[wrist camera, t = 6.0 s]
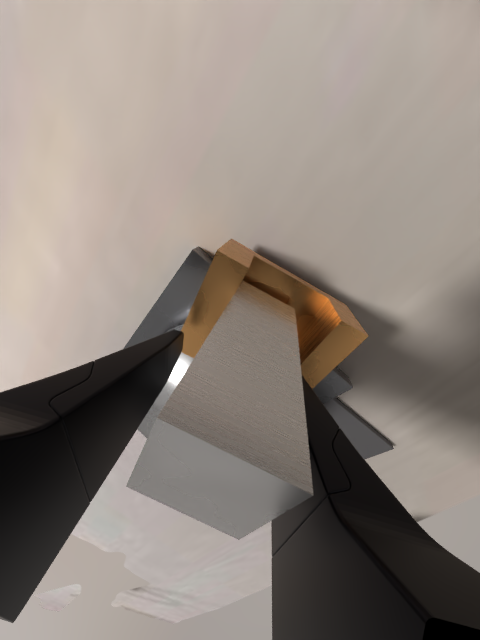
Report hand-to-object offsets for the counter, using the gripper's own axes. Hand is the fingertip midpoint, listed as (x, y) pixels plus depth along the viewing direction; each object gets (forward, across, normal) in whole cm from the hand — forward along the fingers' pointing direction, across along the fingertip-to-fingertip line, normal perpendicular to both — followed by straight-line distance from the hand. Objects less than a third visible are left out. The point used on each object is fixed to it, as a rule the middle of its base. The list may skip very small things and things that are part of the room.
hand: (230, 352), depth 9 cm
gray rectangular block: (+3, -1, 0) cm, 3 cm away
